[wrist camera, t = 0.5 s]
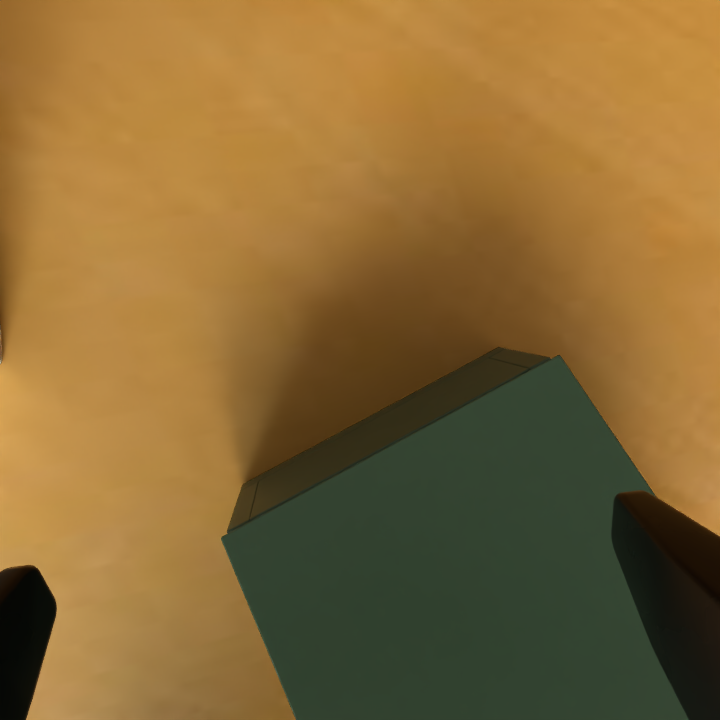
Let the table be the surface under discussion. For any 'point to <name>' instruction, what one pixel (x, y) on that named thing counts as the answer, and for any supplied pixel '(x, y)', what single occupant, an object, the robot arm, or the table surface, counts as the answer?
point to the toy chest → (379, 432)
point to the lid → (461, 573)
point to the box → (0, 347)
